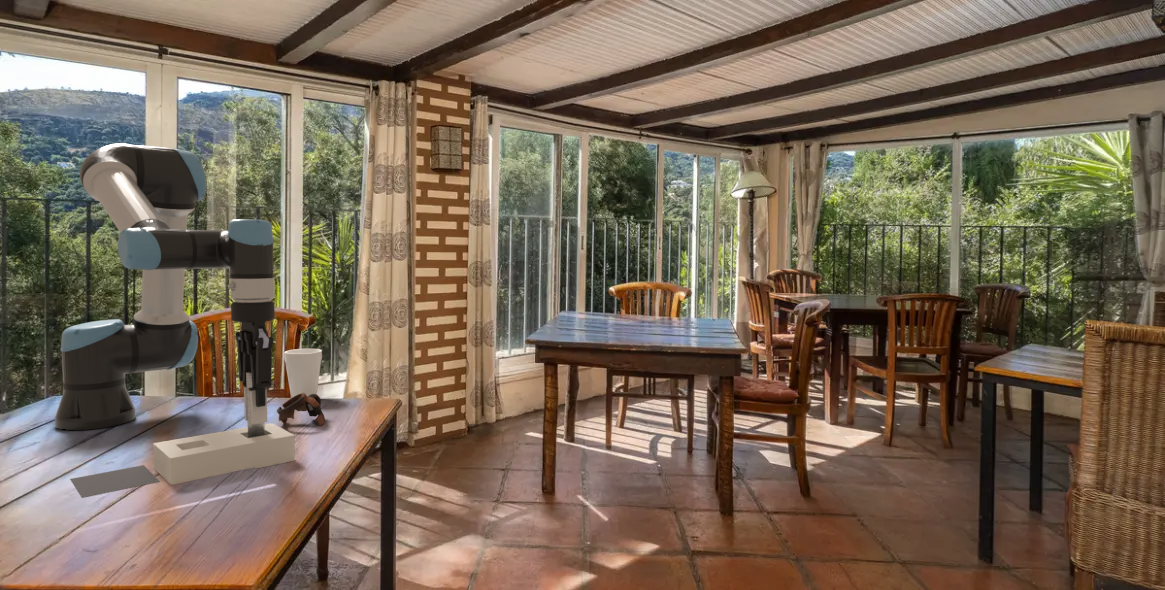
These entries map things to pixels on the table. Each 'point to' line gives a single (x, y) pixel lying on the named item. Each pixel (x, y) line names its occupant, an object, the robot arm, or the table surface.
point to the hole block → (222, 453)
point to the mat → (113, 481)
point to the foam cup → (303, 370)
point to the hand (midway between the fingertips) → (256, 420)
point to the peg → (253, 429)
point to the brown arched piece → (302, 407)
